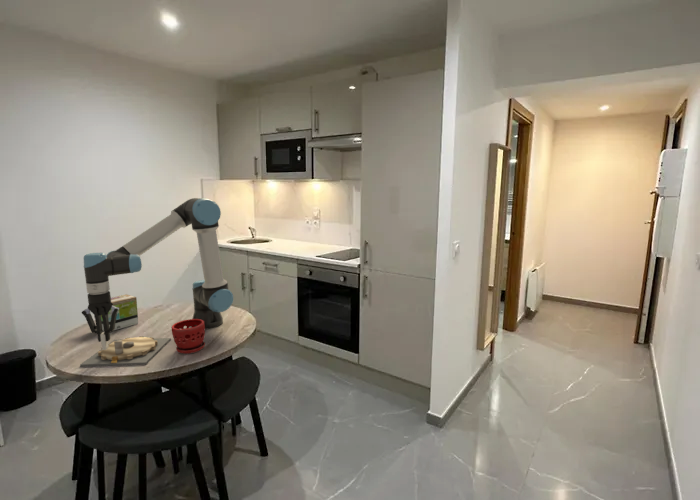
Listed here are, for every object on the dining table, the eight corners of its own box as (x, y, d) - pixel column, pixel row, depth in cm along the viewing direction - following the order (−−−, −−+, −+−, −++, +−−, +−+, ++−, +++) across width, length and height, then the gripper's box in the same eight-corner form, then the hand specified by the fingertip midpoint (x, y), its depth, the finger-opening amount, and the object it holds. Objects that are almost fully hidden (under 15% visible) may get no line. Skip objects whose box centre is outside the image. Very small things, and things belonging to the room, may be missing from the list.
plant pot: (200, 341, 175) (198, 316, 173) (210, 350, 165) (208, 324, 163) (170, 348, 167) (167, 322, 165) (178, 359, 157) (176, 331, 155)
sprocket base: (170, 340, 176) (170, 336, 176) (146, 364, 152) (145, 360, 151) (114, 341, 174) (114, 338, 174) (80, 366, 150) (79, 363, 150)
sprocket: (117, 340, 173) (115, 326, 172) (166, 339, 174) (165, 325, 173) (86, 361, 152) (84, 346, 151) (142, 360, 152) (140, 345, 151)
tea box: (108, 333, 185) (105, 303, 183) (98, 329, 190) (94, 300, 188) (139, 323, 198) (136, 296, 195) (128, 320, 203) (126, 293, 201)
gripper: (75, 295, 146) (83, 354, 149) (113, 293, 149) (120, 350, 152) (84, 290, 153) (90, 346, 157) (120, 288, 156) (126, 343, 160)
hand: (105, 348), depth 155 cm, fingers closed
